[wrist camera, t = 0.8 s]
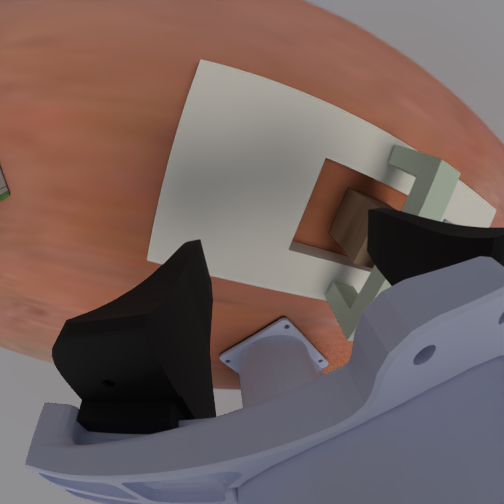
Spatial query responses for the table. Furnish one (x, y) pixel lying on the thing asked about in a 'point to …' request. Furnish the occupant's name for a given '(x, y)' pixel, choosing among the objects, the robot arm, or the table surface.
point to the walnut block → (355, 225)
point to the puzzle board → (270, 181)
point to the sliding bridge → (418, 203)
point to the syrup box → (3, 188)
